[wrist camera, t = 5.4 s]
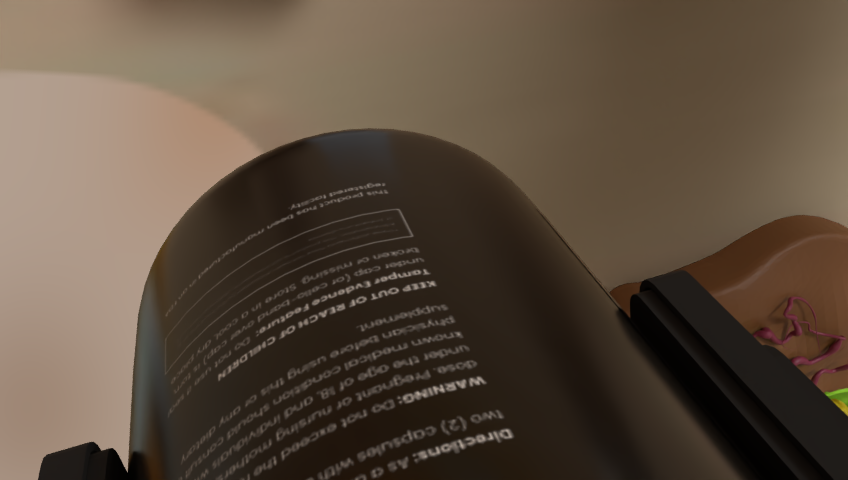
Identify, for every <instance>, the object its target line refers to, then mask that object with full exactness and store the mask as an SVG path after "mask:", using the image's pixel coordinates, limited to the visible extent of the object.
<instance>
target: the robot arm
mask: <svg viewBox="0 0 848 480" xmlns="http://www.w3.org/2000/svg"><path fill="white" fill-rule="evenodd" d="M630 318H631V320H632V321H633V322H634V323H635V324H636V326H637V327H638V328H639V329H640V330H641V332H642V333H643V334H644V335H645V336H646V338H647V339H648V340H649V341H650V342H651V344H652V345H653V346H654V347H655V348H656V349H657V351H658V352H659V353H660V354H661V355H662V357H663V358H664V359H665V360H666V361H667V363H668V364H669V365H670V366H671V367H672V369H673V370H674V371H675V372H676V373H677V375H678V376H679V377H680V378H681V379H682V381H683V382H684V383H685V384H686V385H687V387H688V388H689V389H690V390H691V391H692V393H693V394H694V395H695V396H696V397H697V399H698V400H699V401H700V402H701V403H702V405H703V406H704V407H705V408H706V409H707V411H708V412H709V413H710V414H711V415H712V416H713V418H714V419H715V420H716V421H717V422H718V424H719V425H720V426H721V427H722V428H723V430H724V431H725V432H726V433H727V434H728V436H729V437H730V438H731V439H732V440H733V442H734V443H735V444H736V445H737V446H738V448H739V449H740V450H741V451H742V452H743V454H744V455H745V456H746V457H747V458H748V460H749V461H750V462H751V463H752V464H753V466H754V467H755V468H756V469H757V470H758V472H759V473H760V474H761V475H762V476H763V478H764V479H765V480H848V416H847V415H846V414H845V413H844V412H843V411H842V410H841V409H840V408H839V407H838V406H837V405H836V404H835V403H834V402H833V401H832V400H831V399H830V398H829V397H828V396H826V395H825V394H824V393H823V392H822V391H821V390H820V389H819V388H818V387H817V386H816V385H815V384H814V383H813V382H812V381H811V380H810V379H809V378H808V377H807V376H806V375H805V374H804V373H803V372H802V371H801V370H800V369H799V368H797V367H796V366H795V365H794V364H793V363H792V362H791V361H790V360H789V359H788V358H787V357H786V356H785V355H784V354H783V353H781V352H780V351H779V350H777V349H776V348H775V347H772V346H769V345H766V344H765V345H762V344H761V343H760V342H759V341H758V340H757V339H756V338H755V337H754V336H752V335H751V334H750V333H749V332H748V331H747V330H746V329H745V328H744V327H743V326H742V325H741V324H740V323H739V322H738V321H737V320H736V319H735V318H734V317H733V316H732V315H731V314H730V313H729V312H728V311H727V310H726V309H725V308H724V307H723V306H722V305H721V304H720V303H719V302H718V301H717V300H716V299H715V298H714V297H713V296H712V295H711V294H710V293H709V292H708V291H707V290H706V289H705V288H704V287H703V286H702V285H701V284H700V283H699V282H698V281H697V280H696V279H695V278H694V277H693V276H692V275H691V274H689V273H688V272H687V271H685V270H677V271H674V272H670V273H667V274H664V275H660V276H657V277H653V278H650V279H646V280H644V281H642V283H641V285H640V291H639V293H636V294H633V295H632V296H631V298H630ZM127 478H128V473H127V471H126V469H125V467H124V465H123V463H122V461H121V459H120V457H119V455H118V454H117V452H116V451H115V450H114V449H113V448H110V449H106V450H103V451H101V450H100V448H99V447H98V445H97V444H96V443H94V442H89V443H85V444H82V445H79V446H75V447H72V448H68V449H65V450H61V451H58V452H55V453H51V454H48V455H46V456H45V457H44V458H43V461H42V464H41V468H40V473H39V478H38V480H127Z"/></svg>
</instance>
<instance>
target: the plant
mask: <svg viewBox="0 0 848 480" xmlns="http://www.w3.org/2000/svg"><path fill="white" fill-rule="evenodd" d="M677 270H685V271H687V272H688V273H689V274H691V275H692V276H693V277H694V278H695V279H696V280H697V281H698V282H699V283H700V284H701V285H702V286H703V287H704V288H705V289H706V290H707V291H708V292H709V293H710V294H711V295H712V296H713V297H714V298H715V299H716V300H717V301H718V302H719V303H720V304H721V305H722V306H723V307H724V308H725V309H726V310H727V311H728V312H729V313H730V314H731V315H732V316H733V317H734V318H735V319H736V320H737V321H738V322H739V323H740V324H741V325H742V326H743V327H744V328H745V329H746V330H747V331H748V332H749V333H750V334H751V335H752V336H754V337H755V338H756V339H757V340H758V341H759V342H760V343H761V344H762V345H765V344H766V345H769V346H772V347H775V348H776V349H777V350H779V351H780V352H781V353H783V354H784V355H785V356H786V357H787V358H788V359H789V360H790V361H791V362H792V363H793V364H794V365H795V366H796V367H797V368H799V369H800V370H801V371H802V372H803V373H804V374H805V375H806V376H807V377H808V378H809V379H810V380H811V381H812V382H813V383H814V384H815V385H816V386H817V387H818V388H819V389H820V390H821V391H822V392H823V393H824V394H825V395H826V396H828V397H829V398H830V399H831V400H832V401H833V402H834V403H835V404H836V405H837V406H838V407H839V408H840V409H841V410H842V411H843V412H844V413H845V414H846V415H847V416H848V228H846V227H844V226H842V225H840V224H838V223H836V222H833V221H830V220H827V219H825V218H821V217H815V216H806V215H797V216H790V217H785V218H781V219H778V220H775V221H773V222H771V223H768V224H766V225H764V226H762V227H760V228H758V229H756V230H754V231H752V232H750V233H748V234H747V235H745V236H743V237H742V238H740V239H738V240H737V241H735V242H733V243H732V244H730V245H729V246H727V247H725V248H724V249H722V250H720V251H719V252H717V253H715V254H713V255H711V256H709V257H706V258H704V259H702V260H700V261H697V262H695V263H692V264H690V265H687V266H685V267H682V268H680V269H677ZM677 270H675V271H677ZM672 272H674V271H672ZM641 283H642V282H638V283H627V284H624V285H621V286H618V287H616V288H615V289H613V290H612V291H611V292H610V294H611V296H612V297H613V298H614V299H615V300H616V302H617V303H618V304H619V305H620V306H621V308H622V309H623V310H624V311H625V312H626V314H627V315H628V316H629V317H630V298H631V296H632V295H633V294H636V293H639V291H640V285H641Z"/></svg>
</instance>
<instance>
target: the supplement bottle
mask: <svg viewBox="0 0 848 480" xmlns="http://www.w3.org/2000/svg"><path fill="white" fill-rule="evenodd" d="M127 480H765V479H764V478H763V476H762V475H761V474H760V473H759V472H758V470H757V469H756V468H755V467H754V466H753V464H752V463H751V462H750V461H749V460H748V458H747V457H746V456H745V455H744V454H743V452H742V451H741V450H740V449H739V448H738V446H737V445H736V444H735V443H734V442H733V440H732V439H731V438H730V437H729V436H728V434H727V433H726V432H725V431H724V430H723V428H722V427H721V426H720V425H719V424H718V422H717V421H716V420H715V419H714V418H713V416H712V415H711V414H710V413H709V412H708V411H707V409H706V408H705V407H704V406H703V405H702V403H701V402H700V401H699V400H698V399H697V397H696V396H695V395H694V394H693V393H692V391H691V390H690V389H689V388H688V387H687V385H686V384H685V383H684V382H683V381H682V379H681V378H680V377H679V376H678V375H677V373H676V372H675V371H674V370H673V369H672V367H671V366H670V365H669V364H668V363H667V361H666V360H665V359H664V358H663V357H662V355H661V354H660V353H659V352H658V351H657V349H656V348H655V347H654V346H653V345H652V344H651V342H650V341H649V340H648V339H647V338H646V336H645V335H644V334H643V333H642V332H641V330H640V329H639V328H638V327H637V326H636V324H635V323H634V322H633V321H632V320H631V318H630V317H629V316H628V315H627V314H626V312H625V311H624V310H623V309H622V308H621V306H620V305H619V304H618V303H617V302H616V300H615V299H614V298H613V297H612V296H611V294H610V293H609V292H608V291H607V290H606V288H605V287H604V286H603V285H602V284H601V282H600V281H599V280H598V279H597V278H596V276H595V275H594V274H593V273H592V272H591V271H590V269H589V268H588V267H587V266H586V265H585V263H584V262H583V261H582V260H581V259H580V257H579V256H578V255H577V254H576V253H575V251H574V250H573V249H572V248H571V247H570V245H569V244H568V243H567V242H566V241H565V239H564V238H563V237H562V236H561V235H560V233H559V232H558V231H557V230H556V229H555V227H554V226H553V225H552V224H551V223H550V221H549V220H548V219H547V218H546V217H545V216H544V215H543V214H542V213H541V212H540V211H539V209H538V208H537V207H536V206H535V205H534V204H533V202H532V201H531V200H530V199H529V198H528V197H527V196H526V194H525V193H524V192H523V191H522V190H521V189H520V188H519V187H518V186H517V185H516V184H515V183H514V182H513V181H512V180H511V179H509V178H508V177H507V176H506V175H505V174H504V173H502V172H501V171H500V170H499V169H497V168H496V167H495V166H494V165H492V164H491V163H490V162H488V161H486V160H485V159H483V158H481V157H480V156H478V155H476V154H475V153H473V152H471V151H469V150H467V149H465V148H462V147H460V146H458V145H456V144H453V143H450V142H447V141H444V140H442V139H439V138H436V137H432V136H428V135H424V134H420V133H415V132H409V131H402V130H394V129H373V128H368V129H351V130H342V131H336V132H329V133H323V134H319V135H315V136H311V137H307V138H303V139H300V140H297V141H294V142H291V143H288V144H285V145H283V146H280V147H278V148H275V149H273V150H271V151H269V152H266V153H264V154H262V155H260V156H258V157H256V158H254V159H253V160H251V161H249V162H247V163H246V164H244V165H242V166H240V167H238V168H237V169H236V170H234V171H233V172H232V173H230V174H228V175H227V176H225V177H224V178H223V179H221V180H220V181H219V182H217V183H216V184H215V185H214V186H213V187H211V188H210V189H209V190H208V191H207V192H206V193H204V194H203V195H202V196H201V197H200V198H199V199H198V200H197V201H196V202H195V203H194V204H193V205H192V206H191V208H189V210H187V212H186V213H185V214H184V216H183V217H182V218H181V219H180V221H179V222H178V223H177V224H176V226H175V227H174V228H173V230H172V231H171V233H170V234H169V236H168V237H167V239H166V240H165V242H164V244H163V245H162V247H161V248H160V250H159V252H158V254H157V256H156V259H155V261H154V263H153V265H152V267H151V269H150V272H149V275H148V278H147V281H146V283H145V287H144V291H143V295H142V300H141V304H140V309H139V314H138V323H137V334H136V346H135V358H134V369H133V386H132V404H131V422H130V441H129V459H128V478H127Z"/></svg>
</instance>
